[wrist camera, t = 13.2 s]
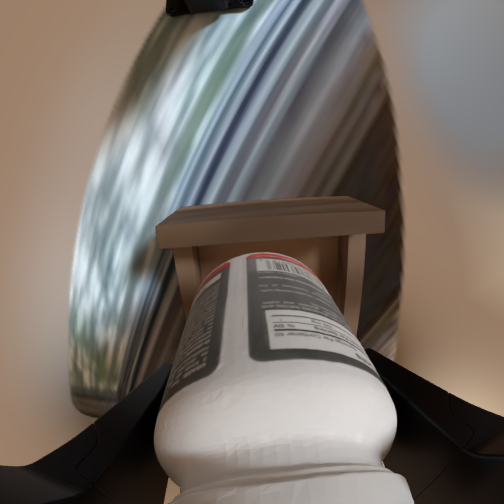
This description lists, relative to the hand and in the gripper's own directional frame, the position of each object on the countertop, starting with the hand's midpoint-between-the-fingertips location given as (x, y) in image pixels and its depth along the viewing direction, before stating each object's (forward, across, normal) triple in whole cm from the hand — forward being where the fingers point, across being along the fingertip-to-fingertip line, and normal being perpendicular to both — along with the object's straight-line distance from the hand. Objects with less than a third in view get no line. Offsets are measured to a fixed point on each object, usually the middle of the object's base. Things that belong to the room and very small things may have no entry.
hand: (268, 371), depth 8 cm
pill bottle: (+4, 0, 0) cm, 4 cm away
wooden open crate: (+13, -1, +1) cm, 13 cm away
